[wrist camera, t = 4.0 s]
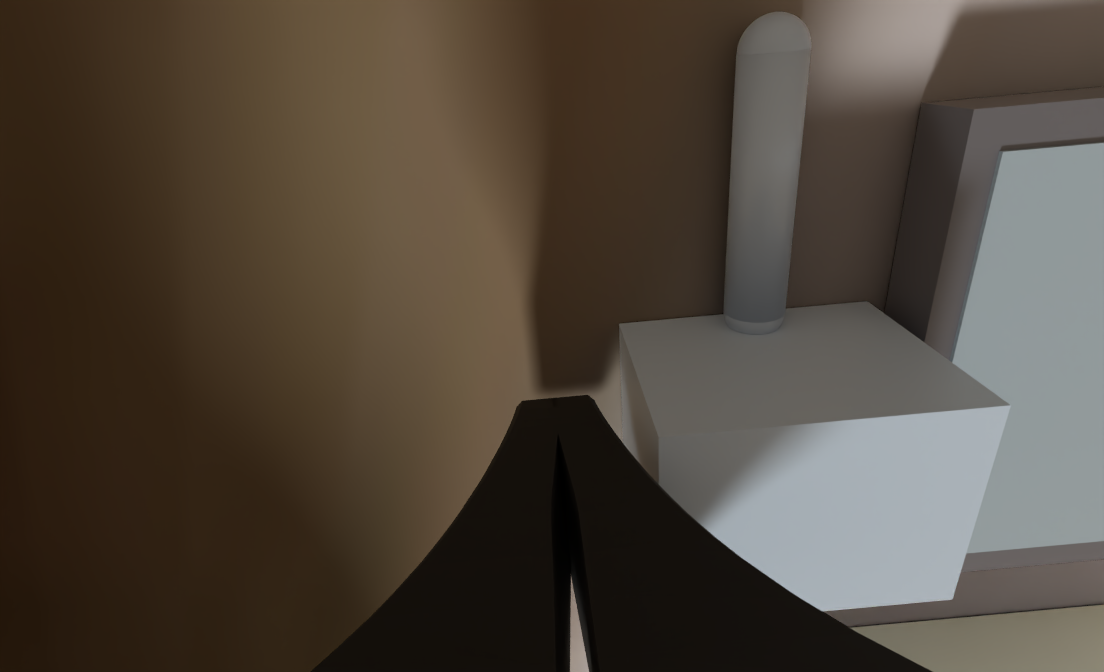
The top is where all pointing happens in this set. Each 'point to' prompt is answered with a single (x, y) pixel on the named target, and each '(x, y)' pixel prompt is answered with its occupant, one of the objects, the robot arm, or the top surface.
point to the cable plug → (806, 393)
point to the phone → (1017, 304)
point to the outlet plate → (1001, 641)
